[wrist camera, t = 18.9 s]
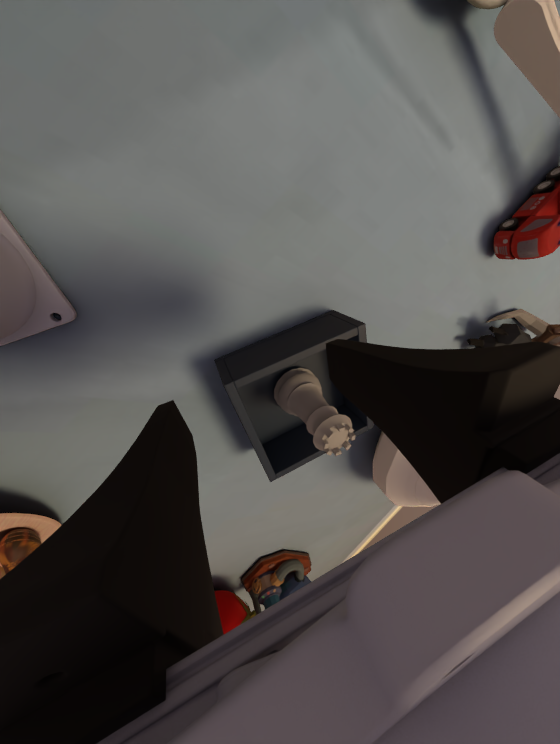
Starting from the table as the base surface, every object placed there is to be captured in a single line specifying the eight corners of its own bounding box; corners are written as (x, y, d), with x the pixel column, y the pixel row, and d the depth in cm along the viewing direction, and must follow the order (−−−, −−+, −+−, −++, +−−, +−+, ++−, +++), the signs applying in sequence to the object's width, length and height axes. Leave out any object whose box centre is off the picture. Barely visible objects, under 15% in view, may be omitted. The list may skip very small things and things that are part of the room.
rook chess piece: (321, 386, 25) (374, 437, 19) (287, 414, 25) (328, 475, 19) (300, 356, 23) (353, 403, 16) (262, 387, 23) (300, 447, 16)
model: (319, 554, 42) (352, 624, 34) (284, 590, 43) (308, 665, 36) (271, 547, 36) (298, 631, 28) (230, 589, 37) (246, 681, 29)
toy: (546, 328, 23) (644, 354, 26) (510, 264, 26) (600, 295, 30) (446, 375, 32) (529, 390, 35) (430, 323, 35) (507, 341, 39)
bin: (256, 448, 26) (270, 482, 23) (214, 359, 20) (223, 385, 17) (347, 403, 28) (373, 427, 25) (333, 309, 22) (365, 323, 19)
